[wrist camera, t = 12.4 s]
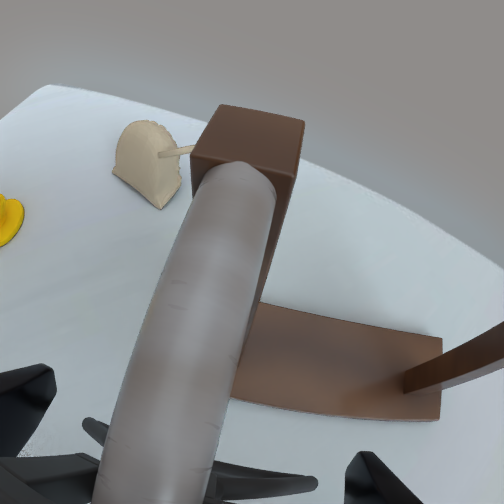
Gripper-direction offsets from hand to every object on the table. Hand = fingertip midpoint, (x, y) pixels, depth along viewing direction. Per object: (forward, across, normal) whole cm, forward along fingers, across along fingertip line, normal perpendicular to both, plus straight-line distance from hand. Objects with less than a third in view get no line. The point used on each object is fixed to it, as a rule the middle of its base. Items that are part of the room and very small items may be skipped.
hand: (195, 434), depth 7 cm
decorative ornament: (+18, +9, -5) cm, 21 cm away
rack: (+9, -6, +5) cm, 12 cm away
